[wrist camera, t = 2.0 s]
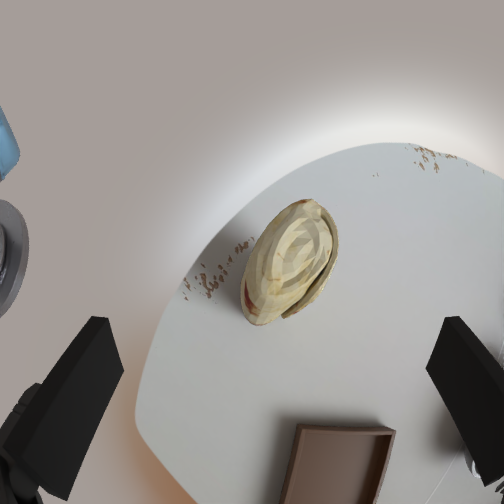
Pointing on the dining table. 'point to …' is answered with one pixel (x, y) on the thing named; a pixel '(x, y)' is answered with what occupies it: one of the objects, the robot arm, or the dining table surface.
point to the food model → (289, 263)
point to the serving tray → (337, 465)
